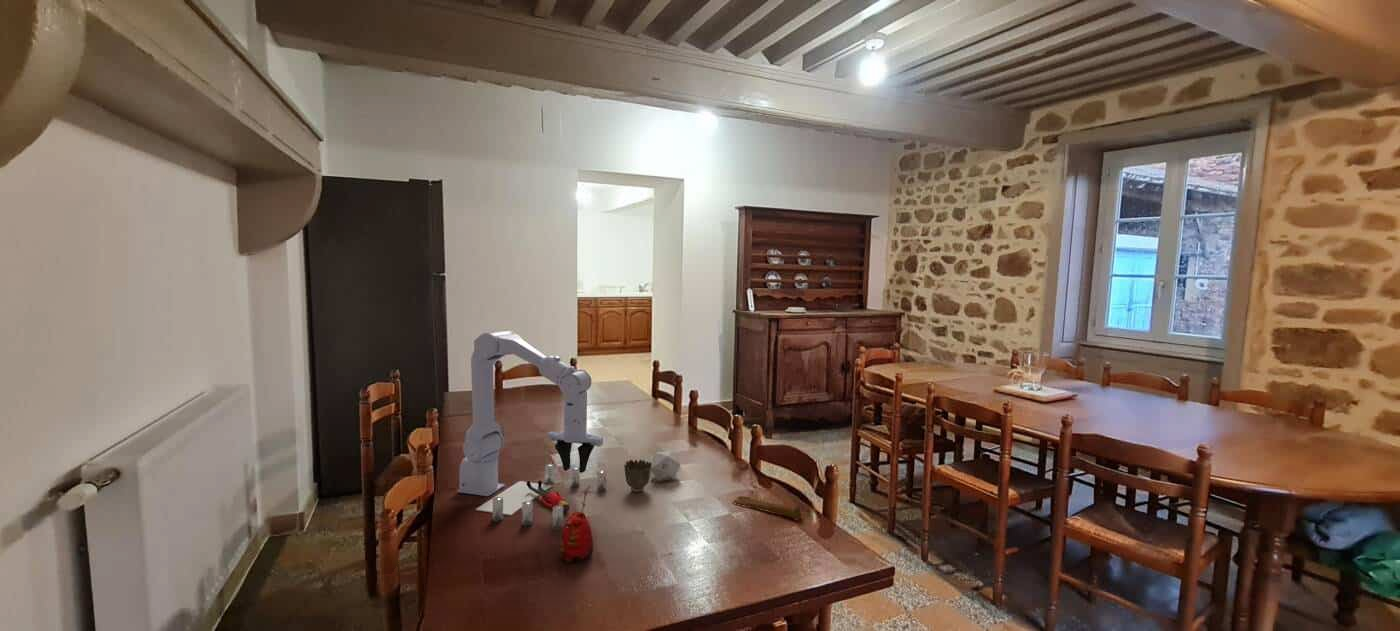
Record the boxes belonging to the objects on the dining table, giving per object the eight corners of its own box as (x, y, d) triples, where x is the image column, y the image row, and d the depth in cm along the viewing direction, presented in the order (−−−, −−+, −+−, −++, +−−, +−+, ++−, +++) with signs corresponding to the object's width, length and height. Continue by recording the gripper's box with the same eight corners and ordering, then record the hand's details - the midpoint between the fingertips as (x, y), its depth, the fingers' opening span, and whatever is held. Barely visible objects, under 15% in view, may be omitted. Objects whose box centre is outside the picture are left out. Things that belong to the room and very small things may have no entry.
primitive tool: (729, 504, 153) (730, 491, 153) (739, 498, 157) (740, 485, 157) (796, 524, 142) (797, 510, 142) (805, 516, 147) (806, 503, 146)
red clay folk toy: (557, 550, 125) (557, 483, 124) (589, 545, 128) (590, 479, 126) (562, 567, 118) (563, 496, 117) (596, 561, 121) (597, 492, 119)
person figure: (541, 473, 157) (573, 495, 144) (545, 485, 158) (577, 508, 145) (524, 482, 154) (555, 506, 141) (528, 495, 155) (559, 519, 142)
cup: (646, 498, 154) (646, 469, 153) (620, 495, 156) (620, 466, 155) (654, 488, 161) (654, 460, 161) (628, 485, 163) (629, 457, 162)
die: (643, 480, 169) (649, 461, 163) (655, 458, 176) (661, 439, 170) (668, 492, 168) (675, 473, 162) (679, 470, 175) (686, 451, 169)
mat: (475, 510, 144) (475, 509, 144) (519, 482, 163) (519, 481, 163) (511, 515, 141) (511, 514, 141) (551, 486, 160) (551, 485, 160)
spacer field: (490, 520, 138) (490, 500, 138) (547, 480, 165) (548, 463, 164) (559, 530, 134) (560, 510, 133) (607, 488, 160) (607, 470, 160)
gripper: (541, 419, 144) (541, 472, 145) (595, 425, 140) (594, 479, 141) (555, 413, 151) (555, 463, 152) (606, 418, 147) (605, 469, 148)
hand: (574, 470), depth 147 cm, fingers open, 4 cm apart
